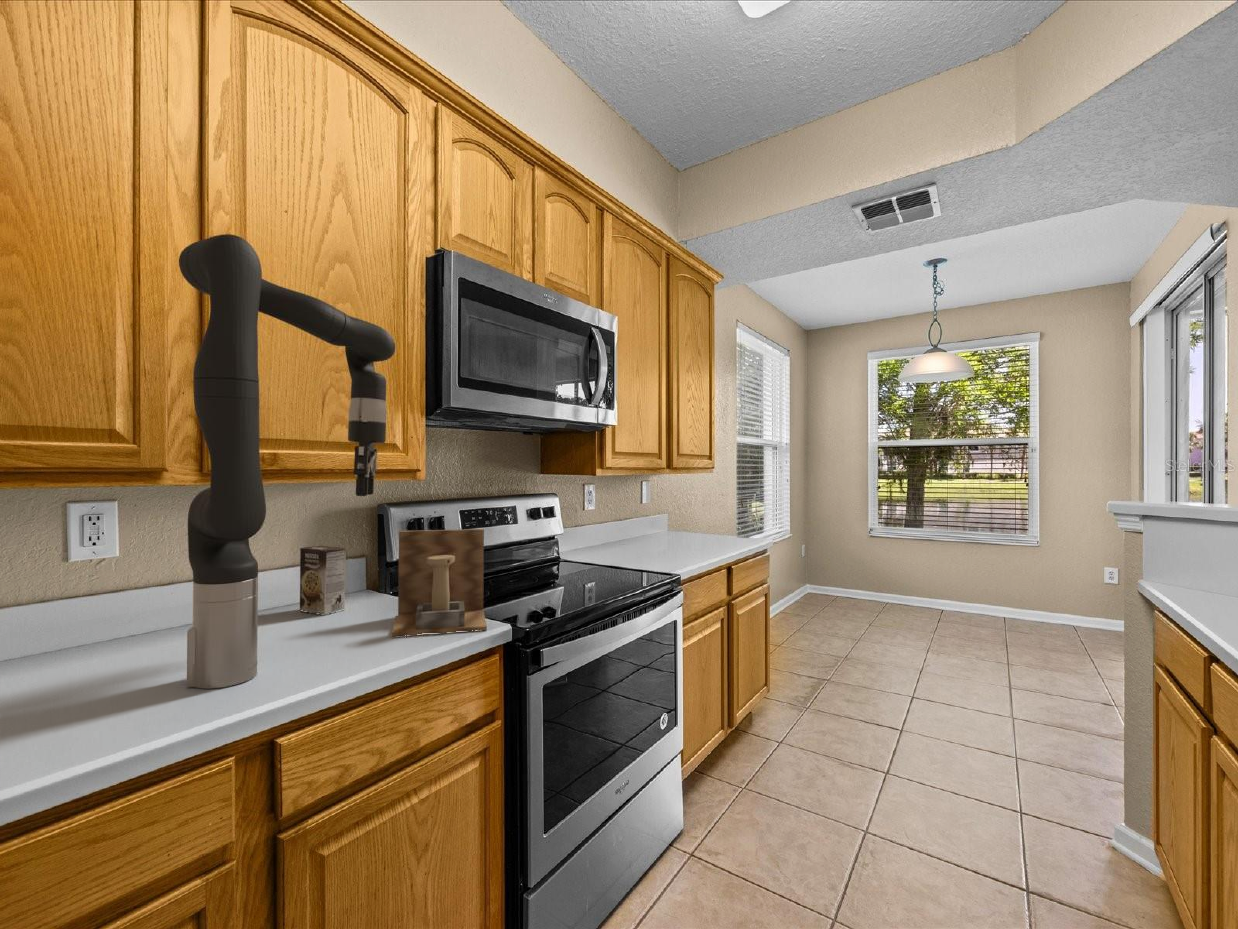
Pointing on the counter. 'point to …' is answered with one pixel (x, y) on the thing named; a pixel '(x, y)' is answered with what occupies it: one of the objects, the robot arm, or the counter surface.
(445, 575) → the handle
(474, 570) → the board
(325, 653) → the counter surface
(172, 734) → the counter surface
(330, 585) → the coffee box
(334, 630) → the counter surface
